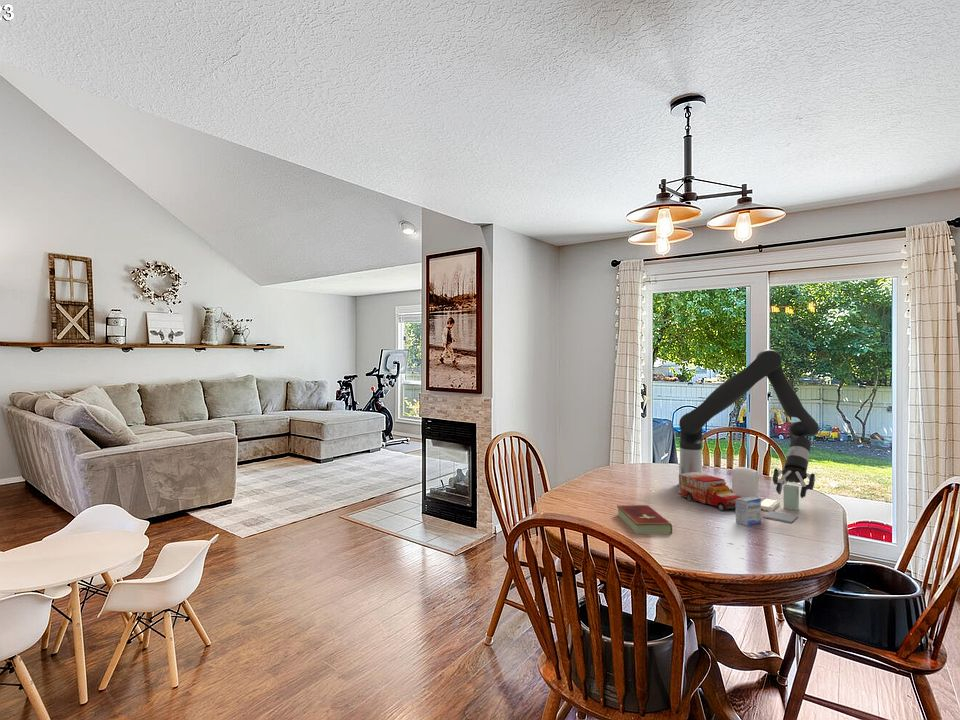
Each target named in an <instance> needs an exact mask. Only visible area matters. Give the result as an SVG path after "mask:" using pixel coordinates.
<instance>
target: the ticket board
mask: <svg viewBox="0 0 960 720" xmlns="http://www.w3.org/2000/svg"><path fill="white" fill-rule="evenodd" d="M779 506H781V501H780V500H776V499H770V498H765V499H763V500H761V509H763V510H762V511H766V510H768V512H769V511H774V510H775V508H776V509H777V508H778V507H779Z"/></svg>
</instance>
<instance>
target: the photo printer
mask: <svg viewBox="0 0 960 720" xmlns="http://www.w3.org/2000/svg"><path fill="white" fill-rule="evenodd" d="M731 489H732V491H733V494H735V495H738V496H740V497H742V498H743V497H748V496H752V497H757V498H760V497H759V473H758V471H757V470H755V469H753V468H749V467H745V466H738V467H733V468H732V470H731Z"/></svg>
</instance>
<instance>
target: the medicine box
mask: <svg viewBox="0 0 960 720" xmlns="http://www.w3.org/2000/svg"><path fill="white" fill-rule="evenodd" d="M761 502H762V499H761V498H760V497H759V498H757V497H752V496H748V497H742V498H738V499H736V509H735V523H736V524H740V525H743V526H745V527H746V526H747V527H748V526H749V525H750V526H753V525H757V524H760V523H762V510H761Z"/></svg>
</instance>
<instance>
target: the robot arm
mask: <svg viewBox="0 0 960 720" xmlns="http://www.w3.org/2000/svg"><path fill="white" fill-rule="evenodd" d="M782 363H783V359H782V355H781V353H780V352H778V351H776V350H773V349H768V348H767V349H763V350H761V351H760V352H758V354H757V355H756V358H755V359H754V360H753V361H752V362H751V363H750V364H749V365H748V366H747V367H745V368H744V369H743V370H741V371H740V372H738V373H736V374H734V375H733V376H731V377H729V378H727V380H725V381H723V382H722V384H720V385H719V386H718V387H716V388H715V389H714V390H713V391H712V392H711V393H710V394H709V395H708V396H707V397H706V398H705V399H704V400H703V402H702V403H701V404H700V405H698V406H697V407H695V408H694V409H692V410H691V411H689V412H687V413H684V414H683V416H681V417H680V419H679V424H678V425H679V428H680V437H679V440H680V441H679V464H678V475H679V474H683V473H691V472H699V473H702V474H703V463H702V462H703V427H704V426H705V425H706V424H707V423H708V422H709V421H710V420H711V419H712V418H714V417H715V416H717V415H719V414H720V413H721V412H723V411H725V410H726V409H727V408H729V407H731V406H733V404H735V403H736V402H737V401H739V400H740V399H741V398H742V397H743V396H745V394H746V393H748V392H749V390H751V389H752V388H753V387H754V386H755V385H756V384H758V382H759V381H761V380H762V379H763V378H765V377H767V379H768V381H769V383H770V384H771V386H772V388H773V391H774V393H775V394H776V397H777V399H778V401H779V404H780V406H781V408H782V409H783V412H784V413H785V416H787V417H789V418H797V419H798V420H797V421H793V422H791V423H790V424H789V426H788V432H789V433H788V434H789V439H790V440H789V441H790V443H789V447H788V451H787V452H786V453H787V454H786V457H785V459H786V460H785V462H784V467H783V469H782V470H781V469H780V470H779V469H778V468H774V471H773V476H772V483H773V485H776V487H775V488H776V489H775V490H776V493H777V494H778V495H781V493H782V491H783V486H784V485H787V484H788V483H795V484H799V485H800V486H801V488H800V492H799V497H800V498H801V499H804V498H806V495H807V491H808V490H811V491H812V490H814V488H815V482H816V476H815V474H814V473H811V474H810V473H807V472H808V466H809V461H810V451H811V447H812V446H811V445H812V443H811V442H812V441H810V439H809V438H808V437H812V436H816V435H817V434H818V433H819V431H820V427H819V426H820V425H819V424H818V422H817V421H816V420H815V419H814V417H812V415H811V414H810V413H809V412H808V411H807V410H806V408H805V407H804V406H803V404H802V402H801V400H800V398H799V396H798V394H797V393H796V391H795V390H794V388H793V386H792V385H791V383H790V382H789V380H788V379H787V376H786V374H785V373H784V369H783V367H782ZM781 475H782V476H781ZM780 476H781V477H780ZM779 477H780V479H779ZM806 479H808V480H809V481H808V484H806V482H805V480H806Z"/></svg>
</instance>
